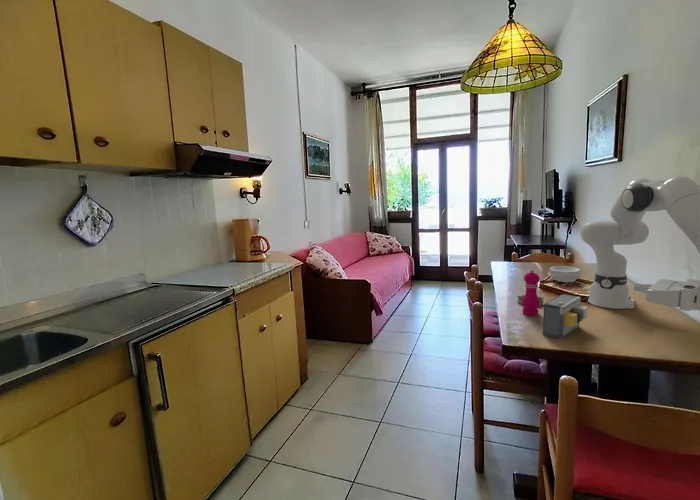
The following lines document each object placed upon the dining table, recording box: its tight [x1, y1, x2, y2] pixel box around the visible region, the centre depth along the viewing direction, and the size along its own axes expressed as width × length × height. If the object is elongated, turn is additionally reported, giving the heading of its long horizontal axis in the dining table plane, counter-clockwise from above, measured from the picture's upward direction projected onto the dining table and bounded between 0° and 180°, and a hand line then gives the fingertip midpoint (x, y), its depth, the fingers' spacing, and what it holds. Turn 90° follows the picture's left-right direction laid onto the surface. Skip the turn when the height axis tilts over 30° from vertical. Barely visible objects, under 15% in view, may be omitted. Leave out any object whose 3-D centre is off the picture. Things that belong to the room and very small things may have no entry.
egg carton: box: [517, 294, 545, 307], centre depth 172 cm, size 11×8×4 cm
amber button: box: [564, 312, 577, 327], centre depth 131 cm, size 4×4×4 cm
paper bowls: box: [549, 265, 581, 283], centre depth 210 cm, size 15×15×8 cm
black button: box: [570, 308, 583, 324], centre depth 134 cm, size 4×4×4 cm
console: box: [542, 293, 582, 340], centre depth 137 cm, size 18×6×13 cm, turn 130°
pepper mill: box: [521, 268, 541, 317], centre depth 157 cm, size 7×7×20 cm
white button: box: [575, 305, 589, 320], centre depth 138 cm, size 4×4×4 cm
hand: (634, 286), depth 117 cm, fingers closed
